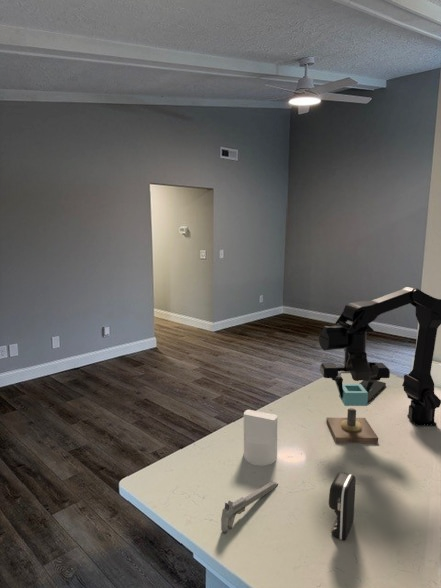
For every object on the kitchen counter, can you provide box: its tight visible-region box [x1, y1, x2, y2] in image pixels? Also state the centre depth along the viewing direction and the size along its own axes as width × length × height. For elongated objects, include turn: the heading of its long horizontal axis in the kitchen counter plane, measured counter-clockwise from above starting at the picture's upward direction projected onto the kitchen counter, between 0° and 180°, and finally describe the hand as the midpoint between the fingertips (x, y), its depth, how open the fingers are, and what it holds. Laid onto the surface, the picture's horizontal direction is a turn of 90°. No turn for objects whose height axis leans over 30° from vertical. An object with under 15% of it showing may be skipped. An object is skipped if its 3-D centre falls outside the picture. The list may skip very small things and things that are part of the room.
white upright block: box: [243, 409, 278, 466], centre depth 108 cm, size 9×9×12 cm
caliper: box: [220, 481, 279, 534], centre depth 89 cm, size 20×1×6 cm, turn 140°
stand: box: [325, 407, 379, 444], centre depth 120 cm, size 12×12×7 cm
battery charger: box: [328, 471, 356, 541], centre depth 82 cm, size 7×4×11 cm, turn 147°
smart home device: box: [358, 380, 387, 405], centre depth 149 cm, size 8×2×20 cm
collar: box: [338, 383, 368, 407], centre depth 119 cm, size 6×6×4 cm
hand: (352, 397), depth 119 cm, fingers closed on collar, 6 cm apart
